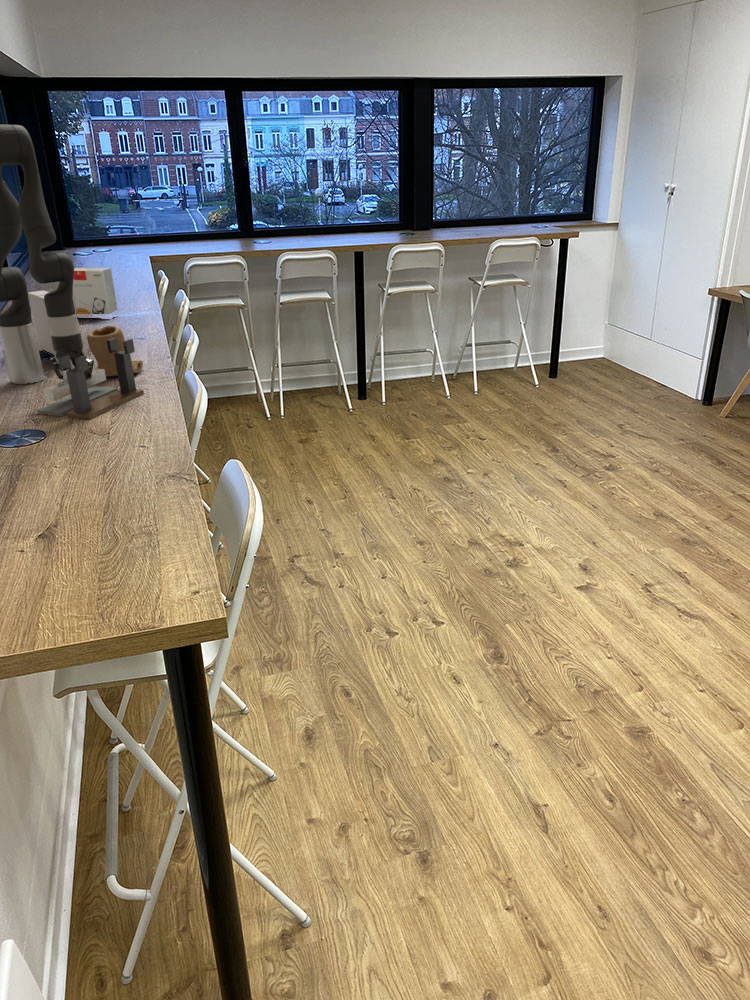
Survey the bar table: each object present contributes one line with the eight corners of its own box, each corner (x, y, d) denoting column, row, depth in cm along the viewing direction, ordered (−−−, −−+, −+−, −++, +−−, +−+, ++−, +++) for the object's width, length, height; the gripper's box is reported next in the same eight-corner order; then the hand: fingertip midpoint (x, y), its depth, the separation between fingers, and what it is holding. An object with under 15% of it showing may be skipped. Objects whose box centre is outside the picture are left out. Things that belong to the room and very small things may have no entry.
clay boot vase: (91, 383, 225) (81, 333, 219) (94, 372, 236) (85, 325, 229) (143, 378, 228) (135, 328, 222) (144, 368, 239) (136, 321, 232)
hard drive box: (76, 319, 314) (67, 270, 306) (86, 315, 321) (76, 267, 313) (111, 319, 312) (102, 270, 303) (119, 315, 319) (111, 267, 310)
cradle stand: (68, 416, 196) (55, 357, 189) (123, 391, 215) (113, 337, 209) (89, 419, 194) (77, 359, 187) (143, 393, 213) (134, 338, 206)
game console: (68, 363, 247) (55, 302, 239) (39, 349, 266) (26, 292, 258) (85, 360, 251) (73, 299, 242) (55, 346, 270) (43, 290, 261)
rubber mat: (37, 413, 199) (37, 410, 199) (95, 389, 219) (94, 385, 218) (61, 416, 197) (61, 412, 196) (117, 391, 216) (117, 387, 216)
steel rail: (45, 400, 198) (42, 389, 196) (97, 378, 215) (95, 368, 214) (54, 401, 197) (51, 390, 195) (106, 379, 214) (104, 369, 213)
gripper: (96, 330, 200) (107, 392, 208) (54, 327, 205) (67, 389, 212) (76, 336, 194) (89, 400, 201) (34, 333, 199) (48, 396, 206)
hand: (78, 394), depth 207 cm, fingers closed on steel rail, 3 cm apart
